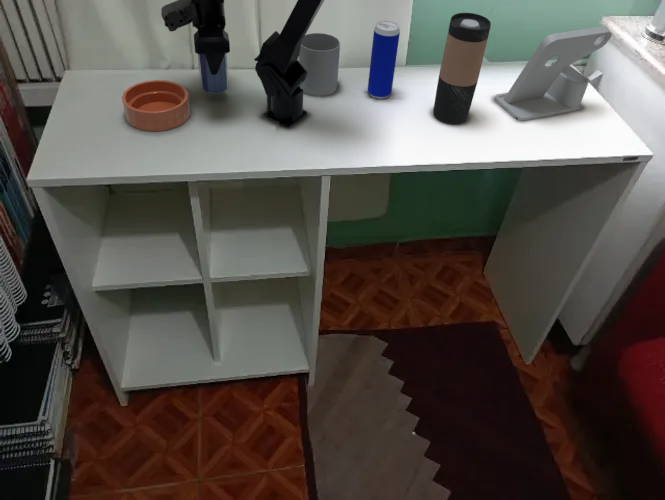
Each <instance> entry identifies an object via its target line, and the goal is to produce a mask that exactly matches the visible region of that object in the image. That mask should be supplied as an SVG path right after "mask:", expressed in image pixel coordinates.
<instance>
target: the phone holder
mask: <svg viewBox="0 0 665 500" xmlns="http://www.w3.org/2000/svg"><path fill="white" fill-rule="evenodd" d="M612 36H613V33H612V32H611V30H610V29H609V28H608V26H606V25H602V26H596V27H595V26H594V27H590V28H581V29H576V30H569V31H561V32H555V33H551V34H549V35H547V36H545V37H544V38H543V39H542V40H541V41H540V42H539V44H538V46H537V48H536V49H535V50H534V51H533V53H532V55H531V56H530V57H529V60H528V61H527V63H526V64H525V66H524V68H523V69H522V70H521V72H520V73H519V75H518V76H517V78H516V80H515V81H514V82H513V84H512V86H511V87H510V89H509V90H508V92H504V93H497V94H496V95H495V96H494V102H495V103H497V104H498V105H499V106H500V107H501V108H502V109H504V111H506V112H507V113H508V114H509V115H510V116H512V117H513V118H514V119H517V121H521V122H526V121H530V120H535V119H540V118H545V117H550V116H554V115H555V116H556V115H559V114H565V113H570V112H575V111H580V110H581V109H582V106H583V104H582V101H583V99H584V95H585V94H586V91H587V89H588V86H589V83H590V80H589V78H588V77H587V76H585V75H584V74H582V73H581V72H580V71H578V70H577V69H575V68H574V67H572V66H571V65H573V64H574V63H576V62H578V61H580V60H581V59H584V58H585V57H587V56H589V55H590V54H592V53H594V52H596V51H598V50H600V49H601V48H603V47H604V46H605V45H606V44H607V43H608V42H609V41H610V39H611V38H612ZM555 57H557V60H555V61H553V62H551V64H550V65H546V64H547V62H549V61H550V60H551V59H553V58H555Z"/></svg>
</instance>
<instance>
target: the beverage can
mask: <svg viewBox="0 0 665 500" xmlns="http://www.w3.org/2000/svg"><path fill="white" fill-rule="evenodd" d="M399 25H400V24H398V23H396V22H394V21H391V20H382V21H378V22H377V23H376V24H375V26H374V28H373V35H372V46H371V53H370V63H369V73H368V82H367V93H368V94H369V96H371V97H372V98H374V99H379V100H382V99H387V98H389V97H390V95H392V92H393V84H394V77H395V71H396V63H397V62H396V61H397V56H398V50H399V49H398V47H399V43H400V34H401V31H400V26H399Z"/></svg>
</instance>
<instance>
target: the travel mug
mask: <svg viewBox="0 0 665 500" xmlns="http://www.w3.org/2000/svg"><path fill="white" fill-rule="evenodd" d="M448 25H449V26H448V29H447V30H448V31H447V35H446V40H445V45H444V49H443V55H442V60H441V63H440V68H439V72H438V73H439V74H438V79H437V86H436V91H435V97H434V103H433V110H432V114H433V117H434V118H435V119H436V120H437V121H439V122H441V123H444V124H447V125H460V124H463V123H465V122H466V121H467V120H468V118H469V117H468V116H469V113H470V110H471V107H472V104H473V99H474V95H475V92H476V90H477V86H478V82H479V78H480V74H481V70H482V65H483V61H484V55H485V51H486V47H487V43H488V39H489V35H490V31H491V25H492V23H491V21H490V20H489V18H487V17H485V16H484V15H481V14H478V13H473V12H457V13H455V14H453V15H452V16H451V17H450V21H449V24H448Z"/></svg>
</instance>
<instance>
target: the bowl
mask: <svg viewBox="0 0 665 500" xmlns="http://www.w3.org/2000/svg"><path fill="white" fill-rule="evenodd" d="M121 100H122V107H123V111H124V116H125V120H126V122H127V123H128V124H129V125H130V126H131V127H133V128H135V129H138V130H142V131H146V132H163V131H169V130H172V129H175V128H178V127H180V126H182V125H184V124H185V123H187V121H188V120H189V118H190V116H191V105H190V95H189V92H188V89H186V88H185V87H184V86H183V85H182V84H180V83H178V82H176V81H172V80H171V81H170V80H163V79H153V80H146V81H145V80H144V81H141V82H137V83H135V84H134V85H131V86H129V87H127V89H126V90H125V91H124V92H123V94H122V95H121Z"/></svg>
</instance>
